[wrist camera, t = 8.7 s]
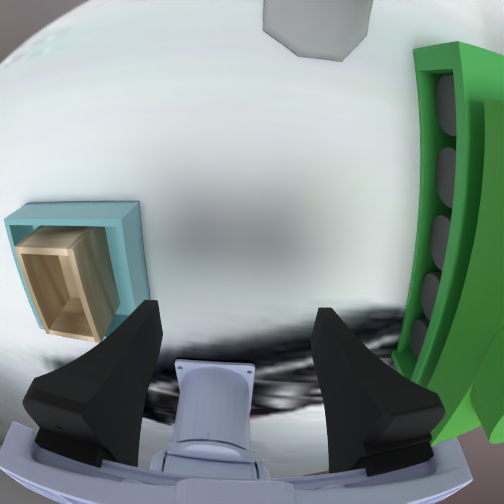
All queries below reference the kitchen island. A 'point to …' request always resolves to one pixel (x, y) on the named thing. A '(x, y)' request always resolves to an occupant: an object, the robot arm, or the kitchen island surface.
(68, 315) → the birch crate
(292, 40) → the flask
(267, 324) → the kitchen island surface
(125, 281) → the teal crate
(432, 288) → the tank
